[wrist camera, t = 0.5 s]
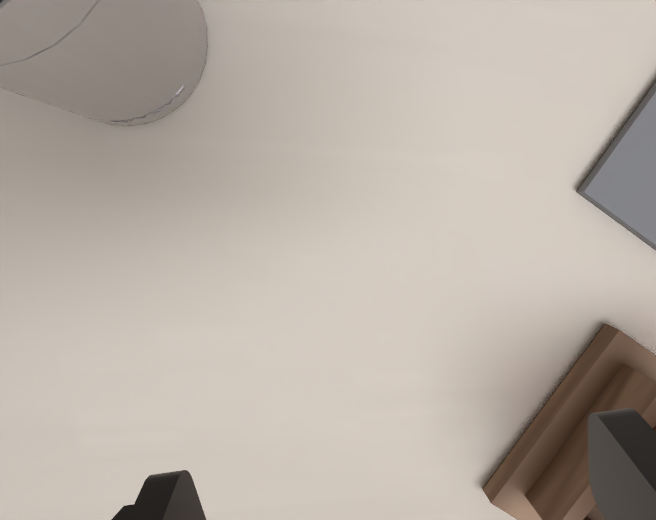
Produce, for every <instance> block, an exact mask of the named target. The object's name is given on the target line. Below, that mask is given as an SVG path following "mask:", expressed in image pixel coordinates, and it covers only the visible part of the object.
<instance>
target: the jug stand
mask: <svg viewBox="0 0 656 520" xmlns="http://www.w3.org/2000/svg"><path fill="white" fill-rule="evenodd" d="M625 408H633V409H635V410H636V411H637V412H638V413H639V414H640V415H641V416H642V417H643V419H644V420H645V421H646V422H647V423H648V424H649V425H650V426H651V428H652V429H653V428H654V426H655V425H656V355H654V354H653V353H651V352H650V351H649V350H647V349H646V348H644V347H643V346H641V345H640V344H639V343H637V342H636V341H634V340H633V339H631V338H630V337H629V336H627V335H626V334H624V333H623V332H621V331H620V330H618V329H616V328H614V327H611V326H609V325H607V324H604V326H603V327H602V328H601V330H600V331H599V332H598V334H597V335H596V336H595V338H594V339H593V340H592V342H591V343H590V345H589V346H588V347H587V349H586V350H585V351H584V353H583V354H582V355H581V357H580V358H579V359H578V361H577V362H576V363H575V365H574V366H573V368H572V369H571V370H570V372H569V373H568V374H567V376H566V377H565V378H564V380H563V381H562V382H561V384H560V385H559V386H558V388H557V389H556V391H555V392H554V393H553V395H552V396H551V397H550V399H549V400H548V401H547V403H546V404H545V405H544V407H543V408H542V409H541V411H540V412H539V414H538V415H537V416H536V418H535V419H534V420H533V422H532V423H531V424H530V426H529V427H528V428H527V430H526V431H525V432H524V434H523V435H522V437H521V438H520V439H519V441H518V442H517V443H516V445H515V446H514V447H513V449H512V450H511V451H510V453H509V454H508V455H507V457H506V458H505V460H504V461H503V462H502V464H501V465H500V466H499V468H498V469H497V470H496V472H495V473H494V474H493V476H492V477H491V478H490V480H489V481H488V483H487V484H486V485H485V487H484V488H483V491H484V492H485V494H486V496H487V497H488V499H489V500H490V502H491V503H492V504H493V505H495V506H497V507H498V508H500V509H501V510H503V511H505V512H506V513H508V514H509V515H511V516H513V517H514V518H516V519H517V520H605V519H604V517H603V515H602V514H601V512H600V510H599V508H598V507H597V506H596V505H595V504H596V502H595V499H594V496H593V493H592V490H591V486H590V481H589V462H588V417H589V415H590V414H591V413H597V412H604V411H611V410H618V409H625Z"/></svg>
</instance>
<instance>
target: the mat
mask: <svg viewBox="0 0 656 520" xmlns="http://www.w3.org/2000/svg"><path fill="white" fill-rule="evenodd" d="M577 193H579V194H580V195H582V196H583V197H584V198H586V199H587V200H588V201H590V202H591V203H592V204H594V205H595V206H596V207H598V208H599V209H601V210H602V211H603V212H605V213H606V214H607V215H609V216H610V217H611V218H613V219H614V220H615V221H617V222H618V223H620V224H621V225H622V226H624V227H625V228H626V229H628V230H629V231H630V232H632V233H633V234H635V235H636V236H637V237H639V238H640V239H641V240H643V241H644V242H645V243H647V244H648V245H649V246H651V247H652V248H654V249H655V250H656V82H655V83H654V84H653V86H652V87H651V89H650V90H649V91H648V93H647V94H646V96H645V97H644V98H643V100H642V101H641V103H640V104H639V105H638V107H637V108H636V110H635V111H634V112H633V114H632V115H631V117H630V118H629V119H628V121H627V122H626V124H625V125H624V126H623V128H622V129H621V131H620V132H619V133H618V135H617V136H616V138H615V139H614V140H613V142H612V143H611V145H610V146H609V147H608V149H607V150H606V152H605V153H604V154H603V156H602V157H601V159H600V160H599V161H598V163H597V164H596V166H595V167H594V168H593V170H592V171H591V173H590V174H589V175H588V177H587V178H586V179H585V181H584V182H583V184H582V185H581V186H580V188H579V189H578V191H577Z"/></svg>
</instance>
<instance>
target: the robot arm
mask: <svg viewBox="0 0 656 520" xmlns="http://www.w3.org/2000/svg"><path fill="white" fill-rule="evenodd" d="M207 48H208V41H207V27H206V23H205V20H204V16H203V12H202V9H201V7H200V5H199V3H198V1H197V0H0V88H3V89H5V90H8V91H11V92H14V93H17V94H20V95H23V96H26V97H29V98H32V99H35V100H38V101H41V102H44V103H47V104H50V105H53V106H56V107H59V108H62V109H65V110H68V111H71V112H74V113H77V114H80V115H83V116H86V117H89V118H92V119H96V120H99V121H102V122H106V123H109V124H116V125H128V126H130V125H137V124H145V123H149V122H151V121H154V120H157V119H160V118H162V117H164V116H166V115H167V114H169V113H170V112H172V111H174V110H175V109H177V108H178V107H179V106H180V105H181V104H182V103H183V102H184V101H185V100H186V99H187V98H188V97H189V96H190V95H191V93H192V91H193V90H194V88H195V87H196V85H197V83H198V82H199V80H200V77H201V74H202V72H203V69H204V66H205V63H206V55H207ZM588 462H589V481H590V486H591V490H592V493H593V496H594V499H595V502H596V504H597V506H598V508H599V510H600V512H601V514H602V515H603V517H604V519H605V520H656V432H655V431H654V430H653V429H652V428H651V426H650V425H649V424H648V423H647V422H646V421H645V420H644V419H643V417H642V416H641V415H640V414H639V413H638V412H637V411H636V410H635V409H633V408H625V409H618V410H611V411H604V412H597V413H591V414H590V415H589V417H588ZM112 520H206V518H205V515H204V512H203V509H202V506H201V503H200V500H199V497H198V494H197V491H196V488H195V485H194V482H193V479H192V477H191V475H190V473H189V472H188V471H187V470H183V471H176V472H169V473H162V474H155V475H150V476H149V477H148V478H147V479H146V480H145V482H144V484H143V487H142V489H141V491H140V493H139V495H138V497H137V500H136V502H135V504H134V505H127V506H124V507H123V508H122V509H121V510H120V511H119V512H118V513H117V514H116V515H115V516H114V517H113V519H112Z"/></svg>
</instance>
